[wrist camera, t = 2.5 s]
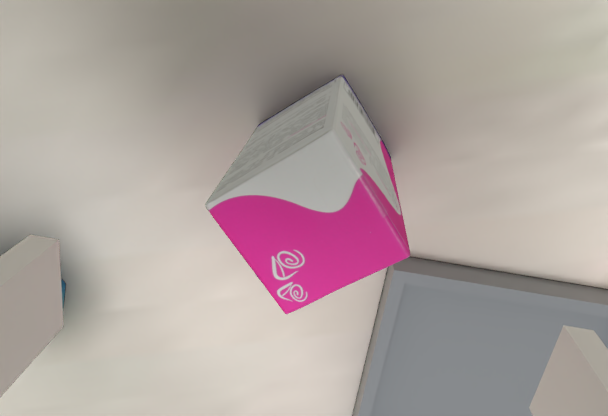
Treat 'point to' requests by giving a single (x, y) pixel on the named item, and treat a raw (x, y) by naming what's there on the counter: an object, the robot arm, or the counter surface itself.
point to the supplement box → (313, 199)
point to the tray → (467, 339)
